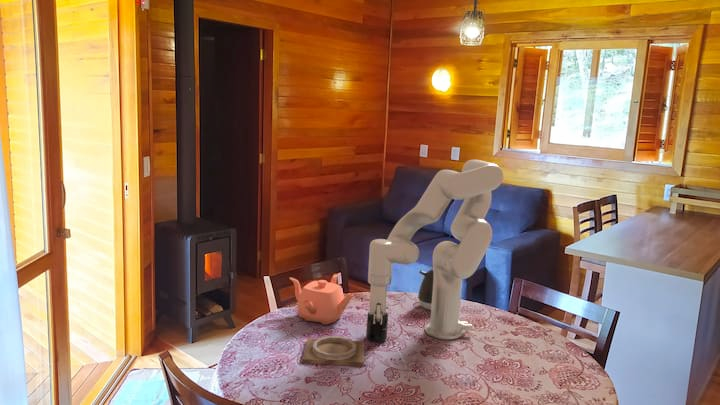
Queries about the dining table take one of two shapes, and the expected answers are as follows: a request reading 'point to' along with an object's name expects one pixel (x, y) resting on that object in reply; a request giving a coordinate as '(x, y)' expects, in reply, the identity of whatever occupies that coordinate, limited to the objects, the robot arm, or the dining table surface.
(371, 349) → the dining table surface
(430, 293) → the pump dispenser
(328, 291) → the teapot
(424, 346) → the dining table surface
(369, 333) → the supplement bottle
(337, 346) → the ring board
